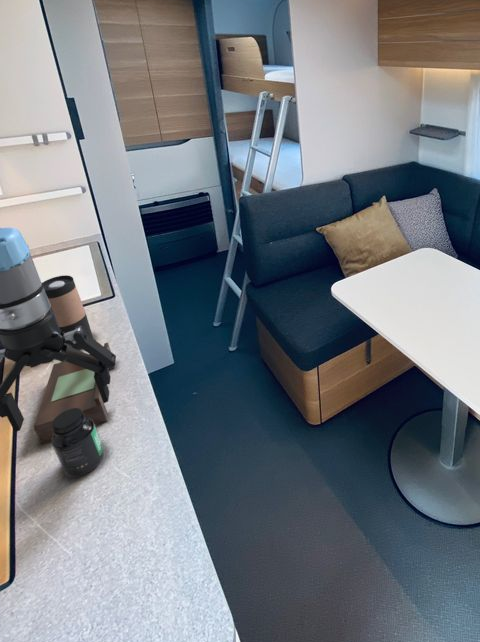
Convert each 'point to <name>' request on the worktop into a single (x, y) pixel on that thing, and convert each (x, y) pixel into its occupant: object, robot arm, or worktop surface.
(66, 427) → the supplement bottle
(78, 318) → the travel mug
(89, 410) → the wooden plaque with label
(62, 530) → the worktop surface
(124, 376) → the worktop surface
